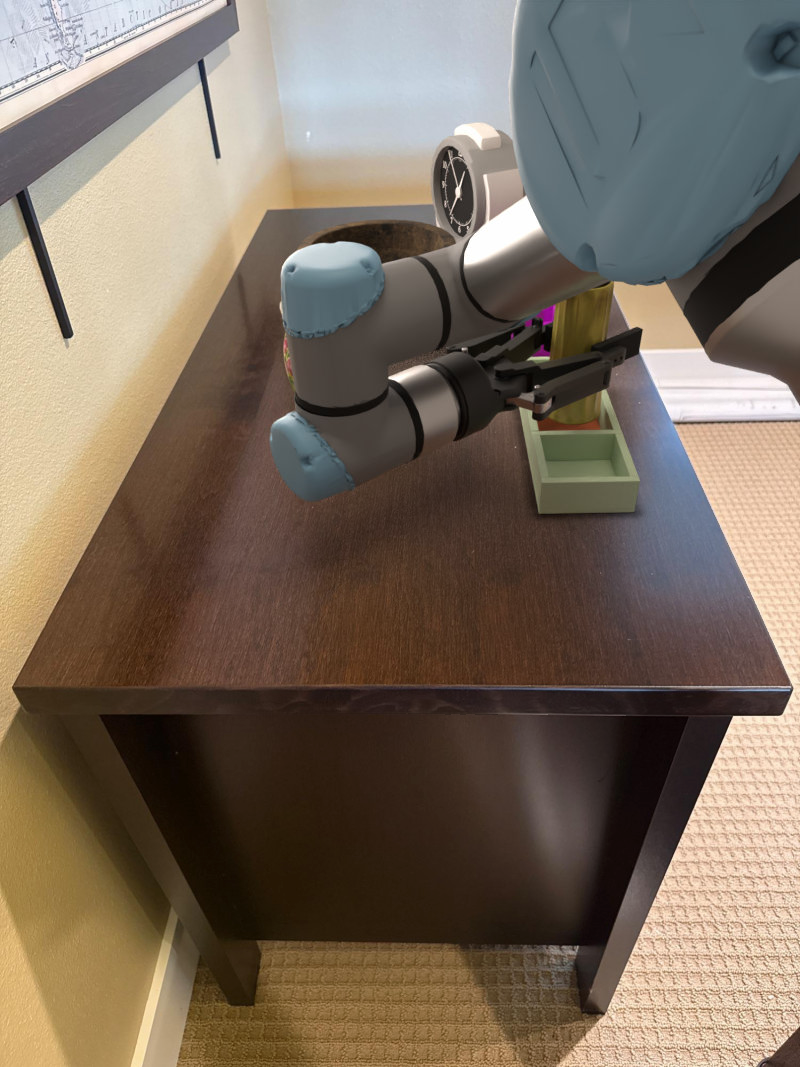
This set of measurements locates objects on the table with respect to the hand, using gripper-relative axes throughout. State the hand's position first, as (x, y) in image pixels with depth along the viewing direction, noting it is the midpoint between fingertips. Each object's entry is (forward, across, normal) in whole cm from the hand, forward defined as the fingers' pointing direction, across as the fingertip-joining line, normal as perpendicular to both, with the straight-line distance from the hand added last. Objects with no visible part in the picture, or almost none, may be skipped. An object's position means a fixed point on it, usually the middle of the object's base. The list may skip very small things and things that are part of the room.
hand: (613, 330), depth 79 cm
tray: (-5, 0, -11) cm, 12 cm away
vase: (-5, 0, -8) cm, 9 cm away
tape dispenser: (+12, -22, -11) cm, 28 cm away
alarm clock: (+23, -48, -12) cm, 54 cm away
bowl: (-1, -41, -12) cm, 43 cm away
